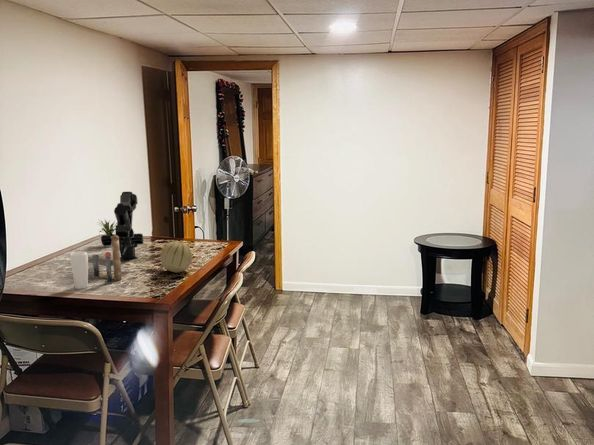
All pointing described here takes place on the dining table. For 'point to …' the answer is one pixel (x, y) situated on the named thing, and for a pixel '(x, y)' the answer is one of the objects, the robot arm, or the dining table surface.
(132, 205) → the robot arm
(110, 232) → the house plant
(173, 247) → the cantaloupe
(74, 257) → the cream white cylinder
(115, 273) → the gate
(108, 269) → the post
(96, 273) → the post
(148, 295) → the dining table surface
